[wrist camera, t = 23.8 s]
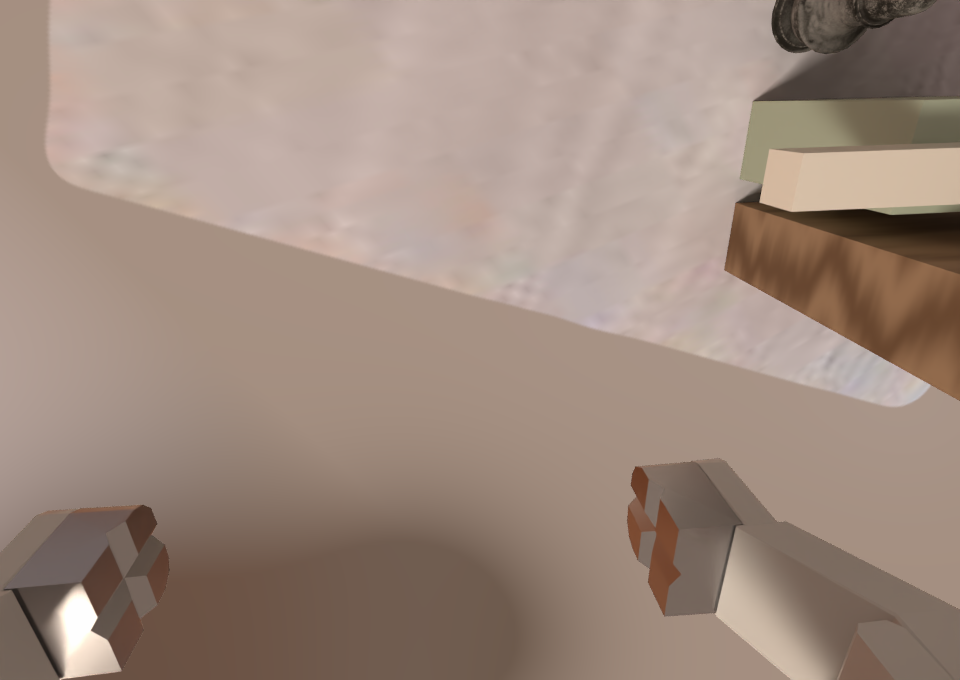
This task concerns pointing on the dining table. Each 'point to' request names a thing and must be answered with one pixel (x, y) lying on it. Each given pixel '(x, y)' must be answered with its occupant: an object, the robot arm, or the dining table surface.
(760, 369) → the dining table surface
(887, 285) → the tall stand
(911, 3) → the stone chess bishop
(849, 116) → the olive grey block
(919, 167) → the beige rectangular bar
